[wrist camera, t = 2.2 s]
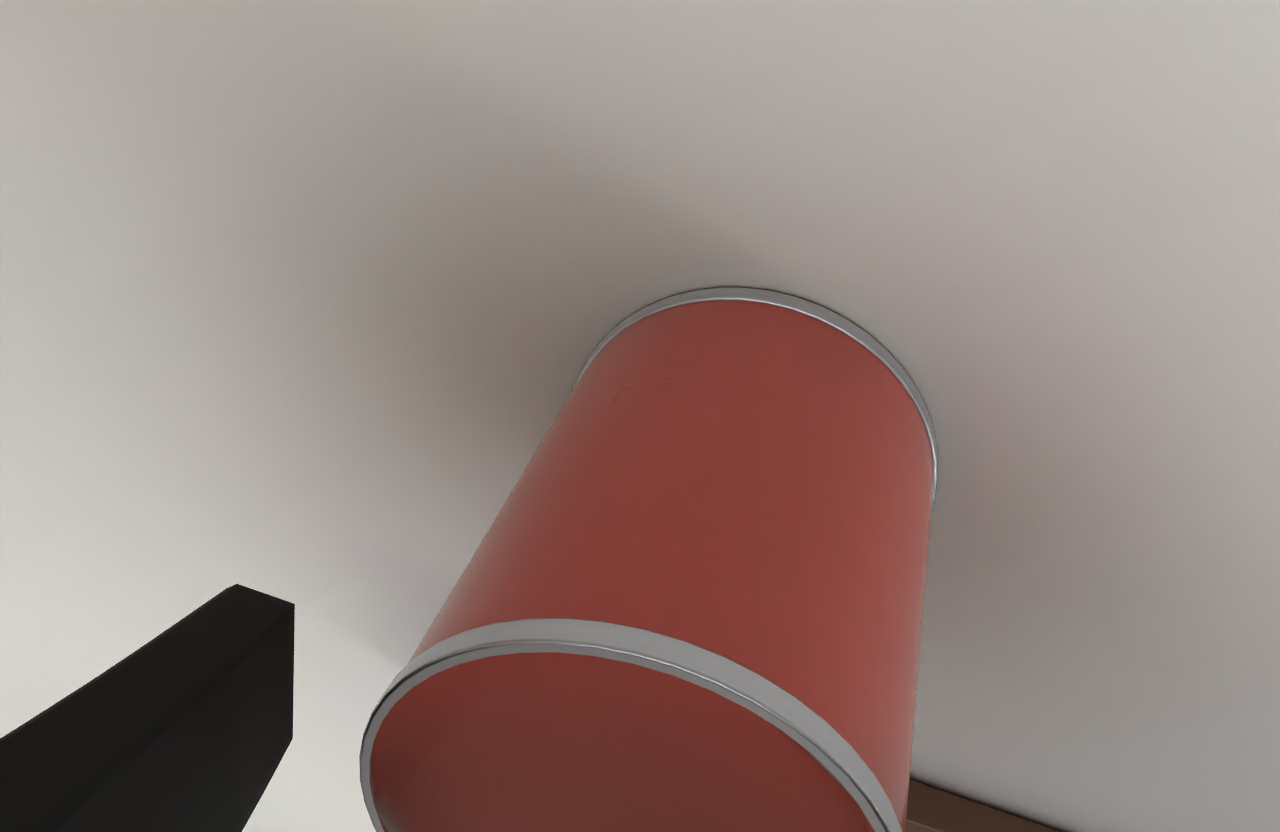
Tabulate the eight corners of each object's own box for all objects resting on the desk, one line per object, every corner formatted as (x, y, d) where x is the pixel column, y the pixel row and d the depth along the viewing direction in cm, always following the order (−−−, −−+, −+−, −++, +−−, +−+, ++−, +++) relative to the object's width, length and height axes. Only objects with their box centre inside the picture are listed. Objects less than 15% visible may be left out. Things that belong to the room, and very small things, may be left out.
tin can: (997, 357, 14) (998, 776, 8) (868, 640, 17) (809, 1083, 11) (603, 237, 14) (372, 561, 9) (546, 531, 17) (348, 905, 12)
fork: (1393, 930, 17) (1410, 981, 16) (1309, 1008, 18) (1320, 1057, 18) (451, 606, 19) (431, 639, 18) (438, 699, 20) (420, 733, 19)
